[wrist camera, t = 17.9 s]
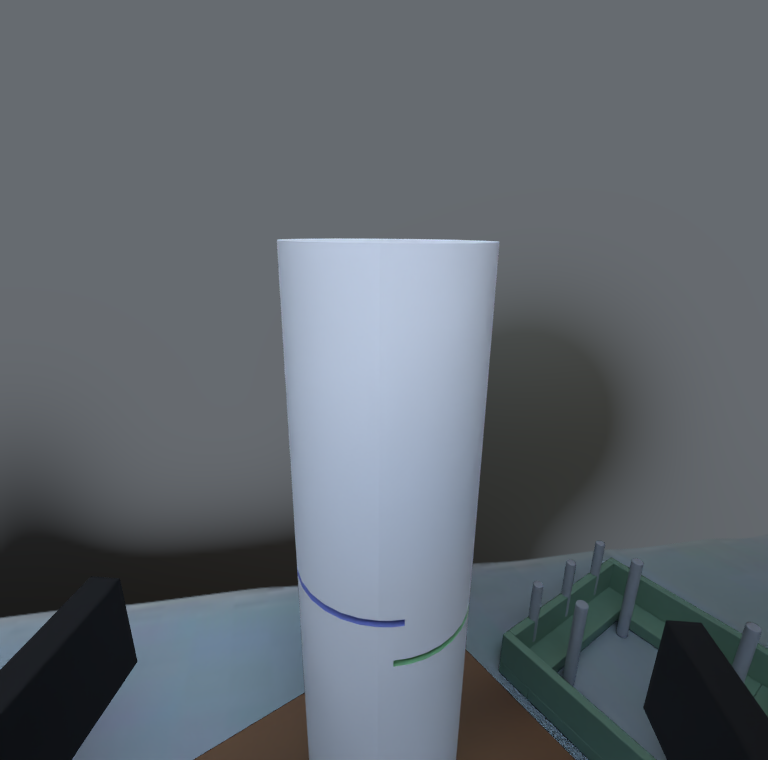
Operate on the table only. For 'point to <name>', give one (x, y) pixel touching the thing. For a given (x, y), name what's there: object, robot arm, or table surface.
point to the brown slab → (475, 736)
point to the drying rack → (585, 623)
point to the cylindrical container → (385, 481)
